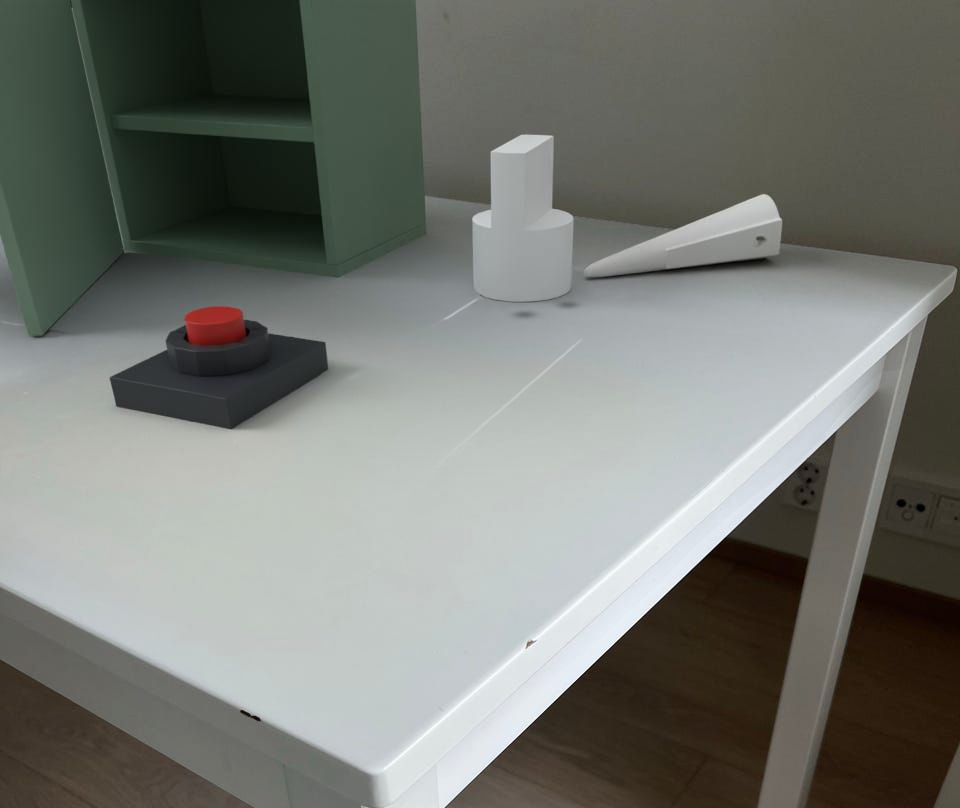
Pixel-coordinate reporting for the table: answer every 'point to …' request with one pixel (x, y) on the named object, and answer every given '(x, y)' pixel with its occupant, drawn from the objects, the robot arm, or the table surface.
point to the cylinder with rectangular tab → (522, 227)
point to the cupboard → (259, 127)
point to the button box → (220, 376)
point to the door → (50, 164)
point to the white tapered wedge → (703, 242)
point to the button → (215, 325)
